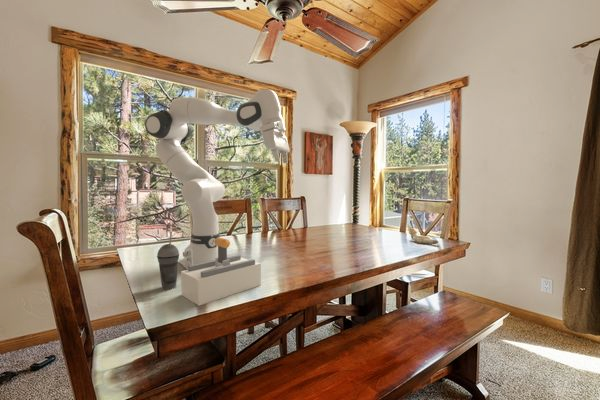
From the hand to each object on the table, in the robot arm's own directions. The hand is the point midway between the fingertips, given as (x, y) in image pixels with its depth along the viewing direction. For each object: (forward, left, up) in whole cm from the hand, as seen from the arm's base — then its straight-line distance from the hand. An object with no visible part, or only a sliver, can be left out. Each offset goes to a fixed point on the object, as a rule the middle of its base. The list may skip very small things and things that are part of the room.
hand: (282, 162), depth 115 cm
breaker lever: (-1, -27, -36) cm, 45 cm away
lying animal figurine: (+20, +100, -46) cm, 112 cm away
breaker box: (-1, -27, -46) cm, 53 cm away
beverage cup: (-17, -39, -46) cm, 63 cm away
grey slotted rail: (-1, -27, -38) cm, 46 cm away
